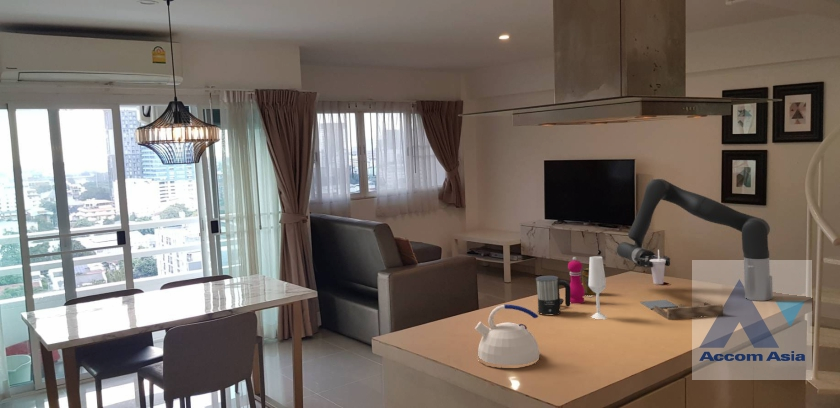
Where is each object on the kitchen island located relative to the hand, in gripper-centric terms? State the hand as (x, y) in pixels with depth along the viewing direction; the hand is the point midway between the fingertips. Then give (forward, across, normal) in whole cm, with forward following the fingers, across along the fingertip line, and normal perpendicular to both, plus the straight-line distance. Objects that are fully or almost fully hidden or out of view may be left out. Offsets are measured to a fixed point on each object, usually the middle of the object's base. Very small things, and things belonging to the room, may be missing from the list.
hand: (660, 264), depth 243 cm
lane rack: (+12, +5, +18) cm, 22 cm away
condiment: (-30, -21, +18) cm, 41 cm away
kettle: (+47, -72, +18) cm, 88 cm away
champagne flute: (+8, -29, +18) cm, 35 cm away
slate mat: (-3, 0, +18) cm, 18 cm away
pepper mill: (-18, -30, +18) cm, 39 cm away
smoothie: (-2, 0, +9) cm, 9 cm away
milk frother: (-7, -44, +18) cm, 48 cm away
